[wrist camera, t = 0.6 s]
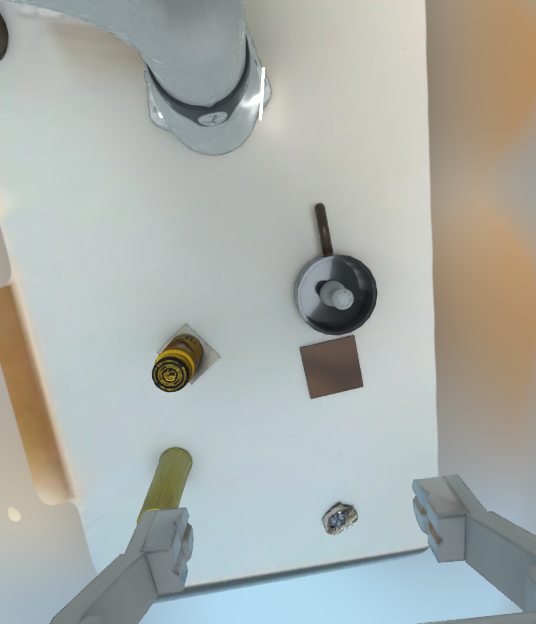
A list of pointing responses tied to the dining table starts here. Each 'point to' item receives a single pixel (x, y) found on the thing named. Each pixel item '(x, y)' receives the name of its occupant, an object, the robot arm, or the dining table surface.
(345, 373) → the plate
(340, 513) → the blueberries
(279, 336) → the dining table surface
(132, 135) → the dining table surface
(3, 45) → the pillar candle
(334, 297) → the rook chess piece
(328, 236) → the pan handle
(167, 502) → the vase
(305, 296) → the pan
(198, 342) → the condiment
